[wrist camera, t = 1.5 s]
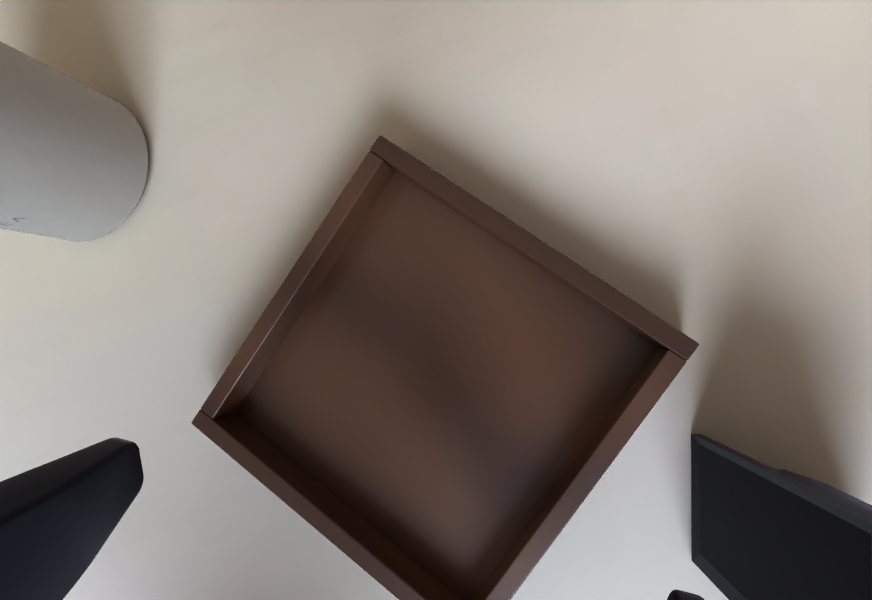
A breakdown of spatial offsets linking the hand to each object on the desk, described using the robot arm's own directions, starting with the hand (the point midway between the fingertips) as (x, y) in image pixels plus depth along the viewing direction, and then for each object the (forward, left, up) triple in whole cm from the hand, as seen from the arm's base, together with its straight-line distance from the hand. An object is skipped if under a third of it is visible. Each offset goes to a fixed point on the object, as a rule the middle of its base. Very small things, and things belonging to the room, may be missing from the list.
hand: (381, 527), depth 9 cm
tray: (-1, +2, -16) cm, 16 cm away
